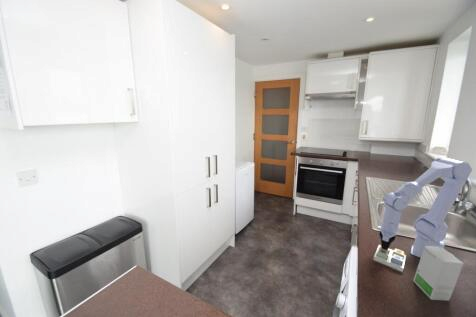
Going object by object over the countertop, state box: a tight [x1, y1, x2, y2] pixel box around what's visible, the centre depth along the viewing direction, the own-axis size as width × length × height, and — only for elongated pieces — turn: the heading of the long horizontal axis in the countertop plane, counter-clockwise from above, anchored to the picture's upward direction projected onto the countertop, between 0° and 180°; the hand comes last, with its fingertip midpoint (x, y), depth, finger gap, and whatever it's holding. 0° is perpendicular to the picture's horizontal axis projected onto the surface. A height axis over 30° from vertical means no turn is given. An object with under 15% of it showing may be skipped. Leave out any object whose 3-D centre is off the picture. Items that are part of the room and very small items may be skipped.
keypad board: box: [372, 244, 407, 274], centre depth 90 cm, size 10×11×2 cm
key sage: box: [377, 248, 388, 260], centre depth 89 cm, size 3×3×2 cm
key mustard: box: [393, 248, 405, 257], centre depth 90 cm, size 3×3×2 cm
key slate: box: [392, 254, 403, 266], centre depth 86 cm, size 3×3×2 cm
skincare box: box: [412, 246, 465, 302], centre depth 73 cm, size 8×7×16 cm
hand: (384, 248), depth 93 cm, fingers closed, pressing on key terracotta
